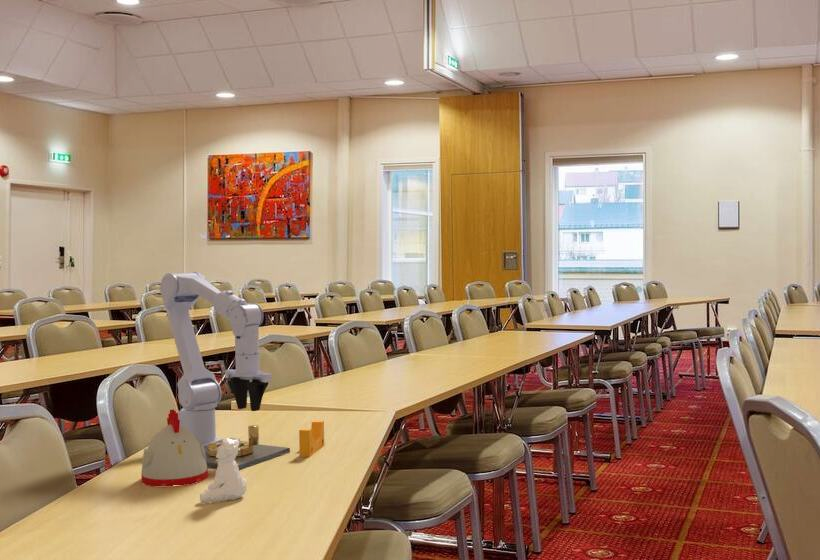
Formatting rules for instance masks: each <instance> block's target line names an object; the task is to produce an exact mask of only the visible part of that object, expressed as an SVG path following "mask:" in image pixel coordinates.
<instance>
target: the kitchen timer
mask: <svg viewBox="0 0 820 560" xmlns="http://www.w3.org/2000/svg"><path fill="white" fill-rule="evenodd" d="M178 413H179V412H177V410H175V409H169V413H168V416H167V418H166V423H167V425H166V426H164V427H163V428H161V430H159V431H158V432H157V433H156V434H155V436H154V437H153V438H152V439H151V441H150V443H149V444H148V446H147V448H144V450H143V457H142V461H141V462H142V463H141V464H142V466H141V472H140V473H141V483H142V484H143V483H144V484H143V485H145V484H146V485H145V486H148V485H150V486H149V487H154V486H173V485H184V484H185V485H184V486H187V485H186V484H190V485H193V484H192V483H194V484H197V483H196V482H198V483H200V481H201V482H203V481H204V480H206V479H207V478H208V475H209V473H208V470H209V469H208V467H207V463H206V460H205V459H206V455H205V450H204V447H205V446H204V445H201V446H200V444H199V442H198V441H197V439H196V438H195V436H194V435H193V434H192V433H191V432H190V431H189V430H188V429H186V428H185V427H183V426H181V425H180V420H178Z"/></svg>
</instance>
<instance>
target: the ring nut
mask: <svg viewBox="0 0 820 560" xmlns="http://www.w3.org/2000/svg"><path fill="white" fill-rule="evenodd" d="M247 428H248V441H246V440H240V447H239V450H238V454H237V455H236V456H241V455H246V454H249V453H252V452H254V451H253V445H258V444H260V439H259V438H260V437H259V434H260V433H259V428H260V427H259V425H257V424H254V425H248V427H247ZM207 446H208V454H209V455H210V456H216V455H217V451H218V447H219V446H221V443H220V442H217V443H208V445H207Z"/></svg>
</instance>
